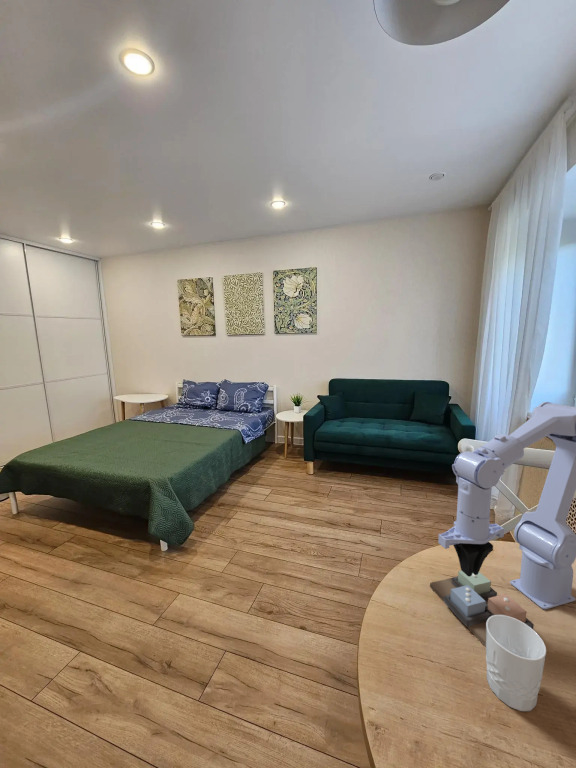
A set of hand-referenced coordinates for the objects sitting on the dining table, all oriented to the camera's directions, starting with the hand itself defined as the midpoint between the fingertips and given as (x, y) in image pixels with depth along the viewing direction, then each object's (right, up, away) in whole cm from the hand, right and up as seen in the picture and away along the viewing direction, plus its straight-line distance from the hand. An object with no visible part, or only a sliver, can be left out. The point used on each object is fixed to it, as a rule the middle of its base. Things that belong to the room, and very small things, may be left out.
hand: (469, 572), depth 64 cm
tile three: (0, -8, +1) cm, 8 cm away
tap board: (+3, -10, +2) cm, 10 cm away
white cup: (-1, -12, -13) cm, 17 cm away
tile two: (+7, -8, -2) cm, 10 cm away
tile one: (+5, -7, +6) cm, 10 cm away
